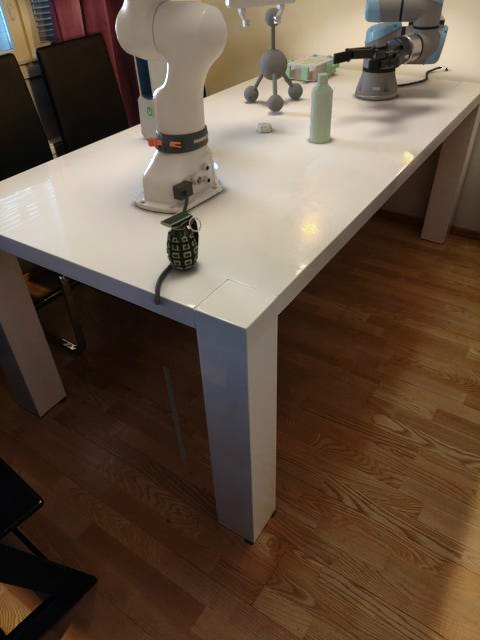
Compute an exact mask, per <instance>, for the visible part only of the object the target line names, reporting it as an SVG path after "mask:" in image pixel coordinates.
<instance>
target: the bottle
mask: <svg viewBox="0 0 480 640" xmlns="http://www.w3.org/2000/svg"><path fill="white" fill-rule="evenodd" d="M310 91H311V93H310V115H309V116H310V121H309V122H310V124H309V142H310V143H313V144H326V143H329V142H330V141H331V132H332V131H331V130H332V116H333V115H332V113H333V97H334V89H333V87H332V86H331V85H330V84H329V76H328V73H319V74H318V81H317V83H316V84H315V85H314V86H313V88H312V89H311V90H310Z"/></svg>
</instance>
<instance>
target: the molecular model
mask: <svg viewBox="0 0 480 640" xmlns="http://www.w3.org/2000/svg"><path fill="white" fill-rule="evenodd" d="M278 10H279V9H277V7H274V6H273V7H272V6H271V7H269V8H268V9H267V10H266V11H265V13H264V21H265V24H266V25H267V26H268V27H270V49H267V50H266V51H264V53H263V54H262V55H261V57H260V59H259V65H258V66H259V71H260V74H259V75H258V77H257V79H256V81H255V83H254V84H253V85H248V86H247V87H246V88H245V89H244V91H243V97H244V99H245V101H247V102H248V103H254V102H256V101H257V100H258V98H259V94H260V92H259V90H258V87H259V85H260V83H261V82H262V80H263V78H265V79H266V80H268V81H271V82H272V94H271V95H270V96H269V97H268V98H267V108H268V109H269V110H270V111H271V112H273V113H277V112H280V111H281V110H282V109H283V107H284V99H283V97H282V96H281V95H280V94H278V80H279V79H281V78H283V79H284V81H285V82H286V84H287V86H288V89H287V94H288V97H289V98H290V99H292V100H298V99H300V98H301V97H302V96H303V93H304V90H303V89H304V88H303V86H302V85H301V83H298V82H294V83H293V82H292V79H289V77H288V76H287V75H286V73H285V72H286V70H287V63H288V59H287V56H286V55H285V53H284V52H283V51H282V50H280V49H278V48H276V27H278V25H279V24H274V16H276V15H277V12H278Z"/></svg>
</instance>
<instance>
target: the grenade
mask: <svg viewBox="0 0 480 640" xmlns="http://www.w3.org/2000/svg"><path fill="white" fill-rule="evenodd" d="M198 222H199V226H198ZM159 224H160V225H162V226H164V227H166V228H169V230H168V231H167V236H166V254H167V259H168V261H169V263H171V264H172V266H173V267H174V268H176V269H178V270H181V271H186V270H189V269H192V267H194V266H195V265H196V264H197V262H198V261H197V260H198V259H199V243H200V241H199V240H200V233H199V232H200V231H201V228H202V221H201V220H200V219H199V218H198V217H197V216H194V215H193V214H192V213H189V212H187V211H186V212H184V211H181V212H179V213H174V214H172V215H170V216H169V217H166V218H165V219H162V220H160V222H159ZM198 227H199V228H198Z"/></svg>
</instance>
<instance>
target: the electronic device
mask: <svg viewBox="0 0 480 640" xmlns="http://www.w3.org/2000/svg"><path fill="white" fill-rule="evenodd" d="M133 60H134V61H133V62H134V65H135V72H136V79H137V86H138V90H139V97H138V98H137V103H138V113H139V123H140V129H141V130H140V131H141V135H142V136H143V138H144V139H146V140H148V139H149V138H150V137H152V138H156V130H157V129H158V128H157V121H156V114H155V108H154V101H153V96H154V92H155V90H156V89H157V87H158V86H159V85H160V84H162V83H163V82H164V81H165V80H166V77H167V70H168V66H167V61H154V60H144V59H141V58H139V57H136V56H133Z"/></svg>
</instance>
